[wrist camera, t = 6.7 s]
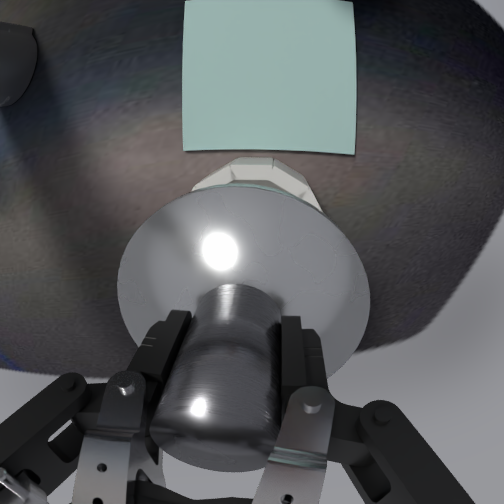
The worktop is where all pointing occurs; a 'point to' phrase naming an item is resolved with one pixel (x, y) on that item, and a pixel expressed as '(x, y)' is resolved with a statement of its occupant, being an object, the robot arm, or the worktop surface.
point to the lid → (238, 312)
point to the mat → (269, 75)
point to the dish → (261, 177)
